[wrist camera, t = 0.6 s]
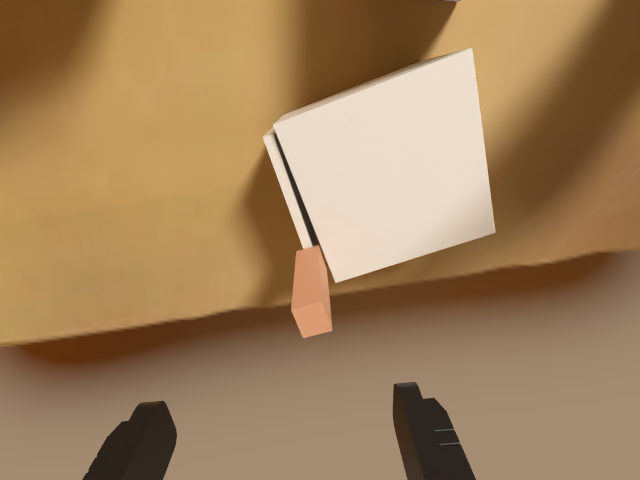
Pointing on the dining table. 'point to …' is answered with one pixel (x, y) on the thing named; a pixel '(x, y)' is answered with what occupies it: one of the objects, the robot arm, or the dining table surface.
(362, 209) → the carton
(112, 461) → the robot arm
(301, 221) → the flap
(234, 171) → the dining table surface
